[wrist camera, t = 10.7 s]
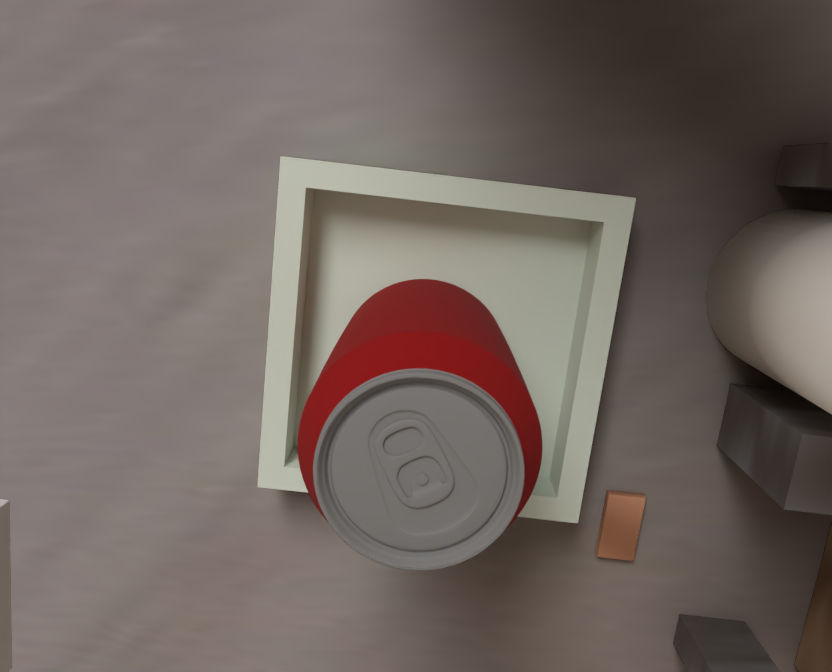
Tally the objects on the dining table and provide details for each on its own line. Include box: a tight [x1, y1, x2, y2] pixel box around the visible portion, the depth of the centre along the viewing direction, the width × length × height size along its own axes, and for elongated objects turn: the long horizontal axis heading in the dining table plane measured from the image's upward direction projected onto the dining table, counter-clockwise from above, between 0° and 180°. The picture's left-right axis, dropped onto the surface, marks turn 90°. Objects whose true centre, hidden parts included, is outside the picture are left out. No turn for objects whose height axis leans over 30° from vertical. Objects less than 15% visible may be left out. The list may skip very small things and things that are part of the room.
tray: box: [258, 156, 636, 523], centre depth 29 cm, size 13×13×2 cm
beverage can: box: [298, 279, 542, 571], centre depth 24 cm, size 7×7×12 cm
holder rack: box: [595, 143, 832, 672], centre depth 28 cm, size 23×12×6 cm, turn 174°
